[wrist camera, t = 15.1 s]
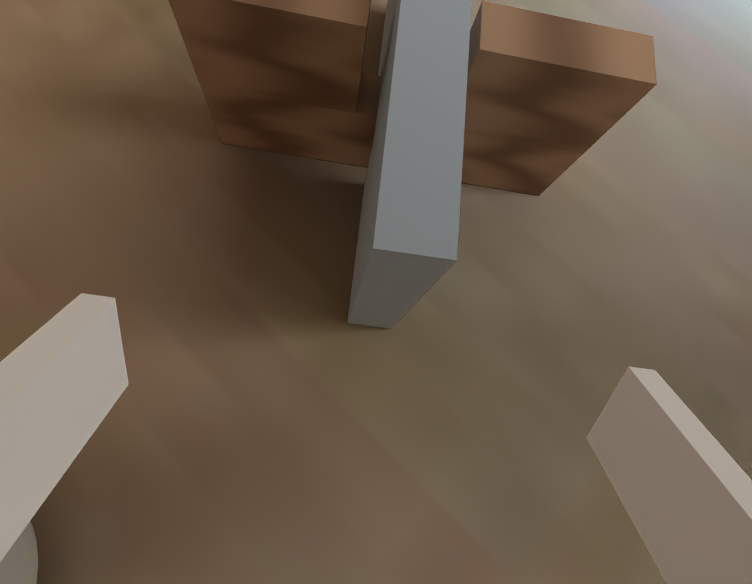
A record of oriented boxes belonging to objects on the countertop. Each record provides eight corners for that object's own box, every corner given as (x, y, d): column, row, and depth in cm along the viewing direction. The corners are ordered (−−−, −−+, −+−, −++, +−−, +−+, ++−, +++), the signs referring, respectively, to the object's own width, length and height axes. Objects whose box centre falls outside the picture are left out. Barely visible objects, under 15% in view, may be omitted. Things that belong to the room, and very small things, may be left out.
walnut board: (539, 161, 28) (652, 36, 19) (538, 195, 27) (656, 84, 18) (230, 108, 26) (178, -63, 17) (222, 143, 26) (163, -14, 16)
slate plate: (420, 20, 30) (484, -221, 18) (391, 328, 24) (457, 260, 13) (385, 13, 30) (427, -236, 18) (347, 323, 24) (372, 248, 12)
